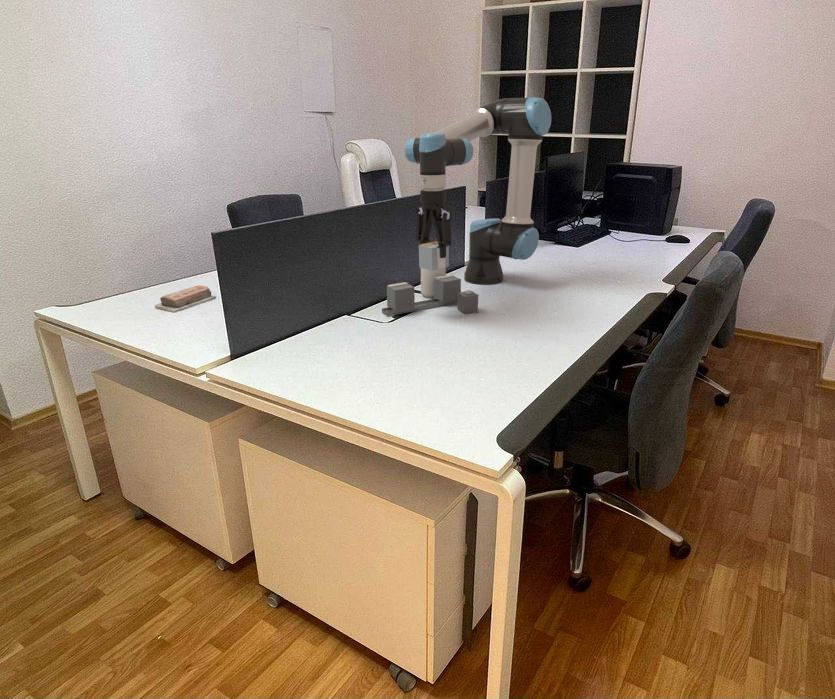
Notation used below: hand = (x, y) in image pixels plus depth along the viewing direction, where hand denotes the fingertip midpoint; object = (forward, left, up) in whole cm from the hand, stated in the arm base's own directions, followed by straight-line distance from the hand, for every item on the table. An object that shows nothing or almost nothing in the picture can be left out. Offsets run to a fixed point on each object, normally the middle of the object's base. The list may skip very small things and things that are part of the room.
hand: (433, 265), depth 174 cm
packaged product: (+67, -56, -17) cm, 89 cm away
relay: (-12, +2, -16) cm, 20 cm away
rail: (-2, -9, -16) cm, 19 cm away
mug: (-12, -20, -17) cm, 29 cm away
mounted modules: (-2, -9, -15) cm, 17 cm away
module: (0, 0, 0) cm, 0 cm away
